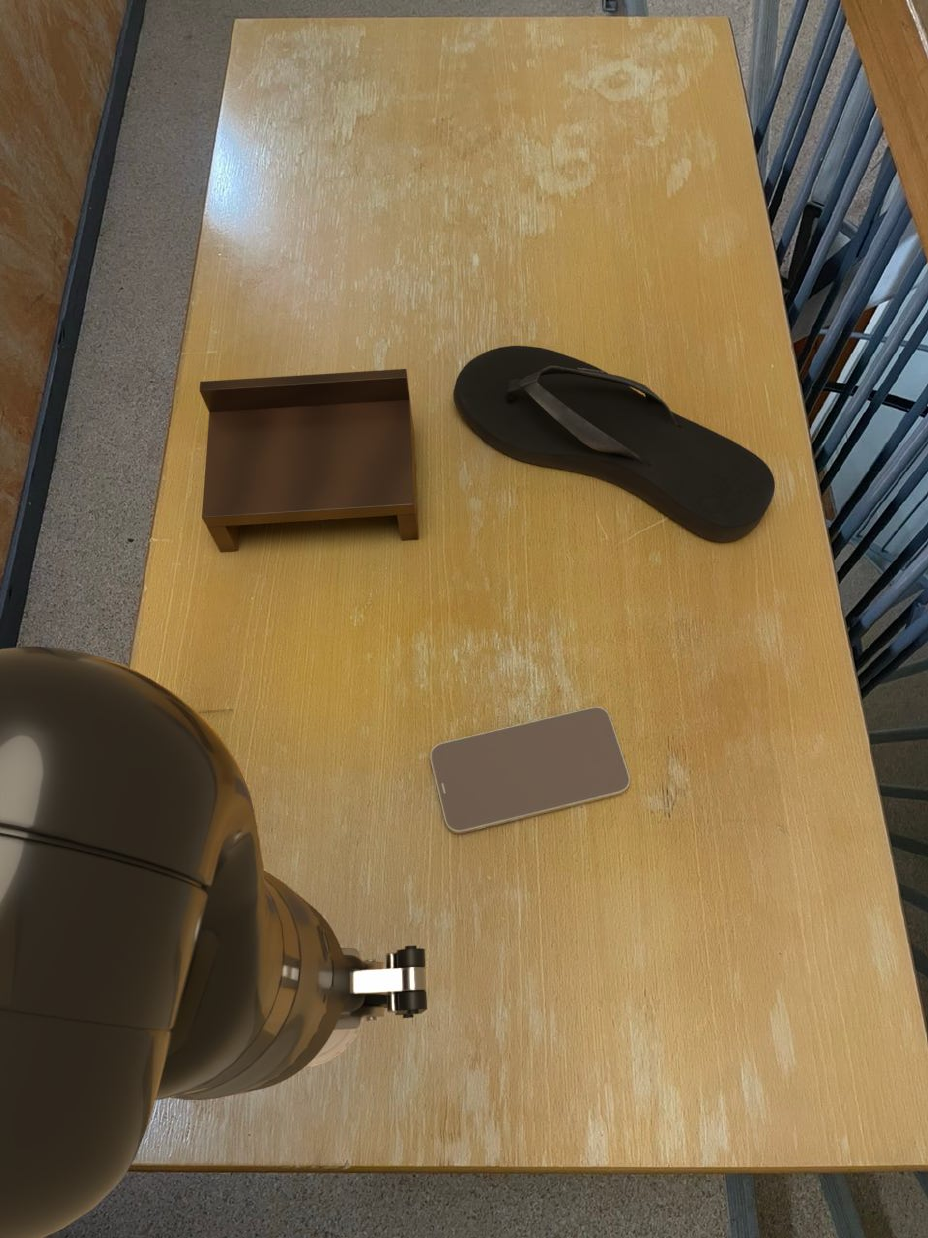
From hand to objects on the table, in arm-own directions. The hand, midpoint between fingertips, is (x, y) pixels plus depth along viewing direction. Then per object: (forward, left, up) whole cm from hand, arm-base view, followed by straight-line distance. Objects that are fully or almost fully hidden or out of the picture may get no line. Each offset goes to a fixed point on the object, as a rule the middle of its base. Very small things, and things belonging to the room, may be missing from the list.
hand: (305, 999), depth 48 cm
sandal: (+24, +47, -21) cm, 57 cm away
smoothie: (0, 0, -10) cm, 10 cm away
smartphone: (+14, +17, -21) cm, 30 cm away
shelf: (-3, +45, -21) cm, 50 cm away
